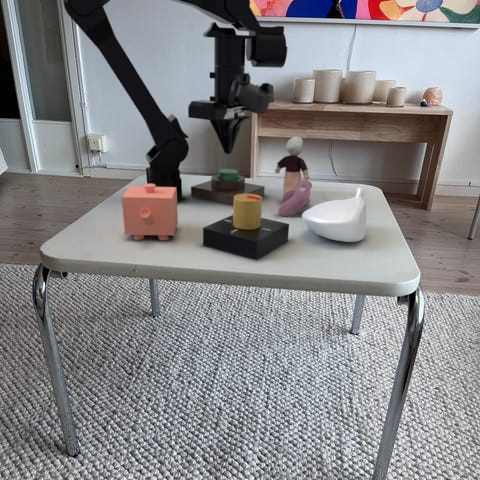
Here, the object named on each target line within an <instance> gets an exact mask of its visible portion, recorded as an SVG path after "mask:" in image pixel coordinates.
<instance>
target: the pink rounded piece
mask: <svg viewBox="0 0 480 480" xmlns="http://www.w3.org/2000/svg"><path fill="white" fill-rule="evenodd" d="M312 188H313V183H312V182H311V181H309V180H305V179H301V181H299V182H298V183H297V184H296V186H295V190H296V191H294V190H291V191H288V192H286V193H285V194H284V193H283V195H282V198H281V202H282V201H283V202H284V203H283V202H282V204H280V206H279V207H278V210H277V212H278V213H277V214H278V215H279V216H281V217H288V216H290V215H291V216H292V215H294V214H299V212H300V211H301V210H302V209H303V208H304V207H305V206H308V205H310V203H311V202H312V200H311V198H310V197H311V194H312V192H311V190H312ZM294 193H295V194H294Z"/></svg>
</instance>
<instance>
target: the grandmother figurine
mask: <svg viewBox="0 0 480 480" xmlns="http://www.w3.org/2000/svg"><path fill="white" fill-rule="evenodd" d="M303 145H304V142H303V139H302V138H301V137H300V136H293V137H291V138H290V139H288V141H287V143H286V145H285V146H284V148H285V150H286V151H288V154H289V155H286V156H284V157H282V158H281V159H280V160H279V161H278V162H276V163H277V165H276V168H275V170H274V172H275V174H280V172H281V170H282V169H284V168H285V171H284V178H283V195H284V194H285V193H286V192H288V191H291V190H294V191H296V190H295V186H296V184H297V183H298V182H299V181H302V175H303V180H307V181H309V179H310V175H309V168H308V166H307V163H306V162H305V160H304V159H303V158H302V157H300V156H299V155H300V154H301V153H302V148H303ZM301 173H302V174H301ZM294 194H295V193H294ZM281 203H282V204H283V203H284V202H283V201H282V200H281Z"/></svg>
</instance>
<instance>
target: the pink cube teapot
mask: <svg viewBox="0 0 480 480" xmlns="http://www.w3.org/2000/svg"><path fill="white" fill-rule="evenodd" d="M155 186H156V185H155V184H147V183H145V184H143V186H132V185H131V186H130V185H129V187H128V188H127V190H126V191H125V192H124V193H123V195H122V196H121V205H122V216H123V226H124V235H130V236H131V235H132V236H133V235H134V236H133V239H134V240H135V241H140V240H143V239H145V236H157V238H158V240H159V241H167V240H169V236H175V233H176V230H177V226H178V225H179V224H178V223H179V217H178V216H179V215H178V201H177V188H176V187H155Z"/></svg>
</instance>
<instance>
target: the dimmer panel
mask: <svg viewBox="0 0 480 480" xmlns="http://www.w3.org/2000/svg"><path fill="white" fill-rule="evenodd" d="M289 230H290V223H286V222H283V221H277V220H273V219H270V218H269V219H268V218H265V217H261V226H260V227H259V228H257V229H252V230H244V229H238V228H236V227H234V226H233V214H231V215H229V216H227V217H225V218H222V219H219V220H217V221H215V222H212V223H211V224H208V225H205V226H203V227H202V246H204V247H207V248H211V249H215V250H217V251H218V250H219V251H222V252H225V253H229V254H233V255H237V256H240V257H243V258H248V259H251V260H256V261H257V260H259V259H262V257H264V256H266V255H267V254H269V253H270V252H272V251H274V250H275V249H277V248H279V247H281V246H282V245H284V244H285V243H288V242H289Z"/></svg>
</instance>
